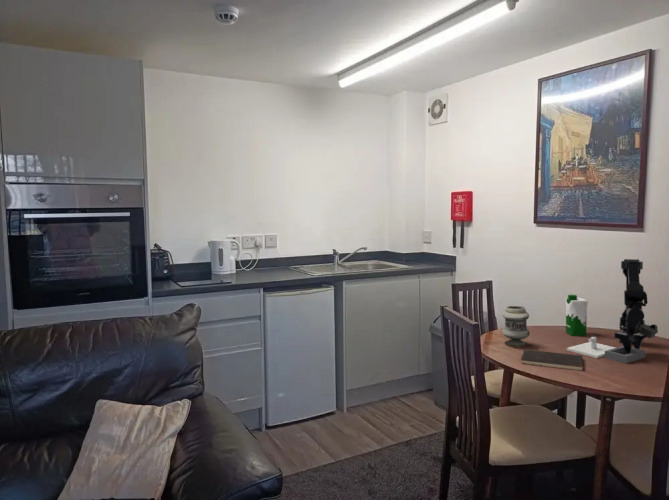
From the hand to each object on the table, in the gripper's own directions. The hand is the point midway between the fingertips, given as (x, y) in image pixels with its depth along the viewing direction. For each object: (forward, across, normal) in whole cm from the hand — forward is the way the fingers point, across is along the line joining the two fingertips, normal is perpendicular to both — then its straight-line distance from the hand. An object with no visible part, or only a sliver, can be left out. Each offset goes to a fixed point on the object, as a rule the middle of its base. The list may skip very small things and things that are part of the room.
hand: (632, 352), depth 203 cm
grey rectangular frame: (+1, -6, 0) cm, 6 cm away
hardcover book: (+2, -35, +14) cm, 38 cm away
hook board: (+1, -7, +13) cm, 15 cm away
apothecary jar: (+2, -27, +39) cm, 48 cm away
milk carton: (+2, +12, +34) cm, 36 cm away
